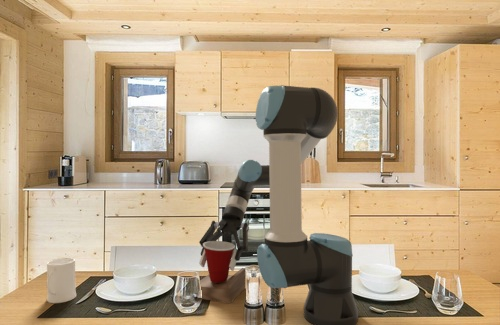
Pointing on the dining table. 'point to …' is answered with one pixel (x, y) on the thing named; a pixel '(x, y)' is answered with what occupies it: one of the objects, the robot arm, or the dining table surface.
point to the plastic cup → (218, 259)
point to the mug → (61, 280)
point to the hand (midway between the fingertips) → (216, 266)
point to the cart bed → (223, 287)
